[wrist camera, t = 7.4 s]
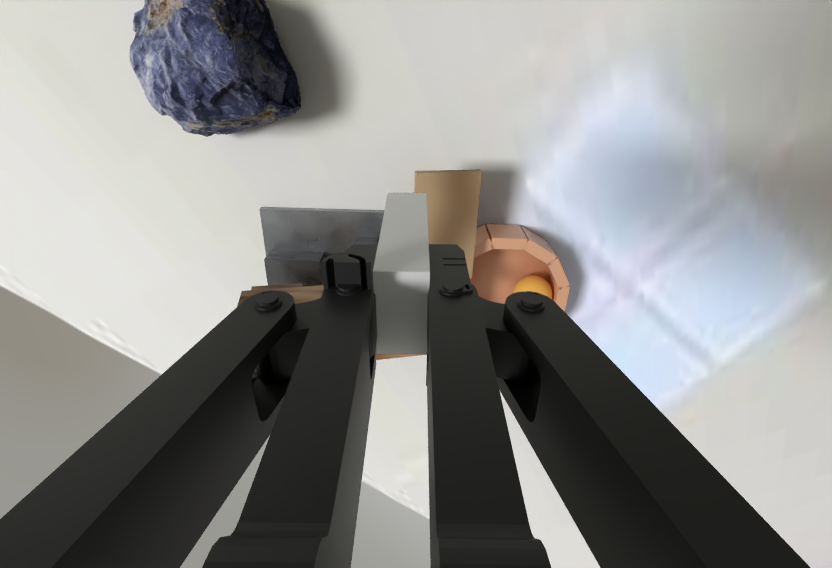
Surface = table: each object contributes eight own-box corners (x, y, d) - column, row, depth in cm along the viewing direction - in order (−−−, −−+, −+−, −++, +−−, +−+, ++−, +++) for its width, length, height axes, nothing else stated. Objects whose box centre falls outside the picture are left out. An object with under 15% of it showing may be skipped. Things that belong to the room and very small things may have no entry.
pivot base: (279, 335, 46) (255, 384, 39) (261, 207, 40) (228, 239, 33) (388, 338, 46) (383, 387, 39) (388, 210, 40) (382, 243, 33)
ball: (510, 269, 42) (523, 287, 39) (546, 268, 42) (561, 285, 39) (505, 302, 43) (517, 321, 40) (540, 300, 44) (554, 319, 41)
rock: (330, 108, 33) (215, 114, 26) (248, 141, 39) (134, 154, 32) (285, -52, 31) (141, -100, 23) (204, 9, 37) (67, -13, 29)
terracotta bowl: (437, 222, 40) (438, 236, 37) (567, 226, 40) (580, 240, 37) (431, 331, 46) (432, 351, 43) (546, 334, 46) (555, 354, 43)
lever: (255, 344, 38) (249, 375, 35) (225, 169, 31) (213, 185, 28) (458, 325, 42) (472, 351, 38) (472, 164, 35) (490, 177, 31)
